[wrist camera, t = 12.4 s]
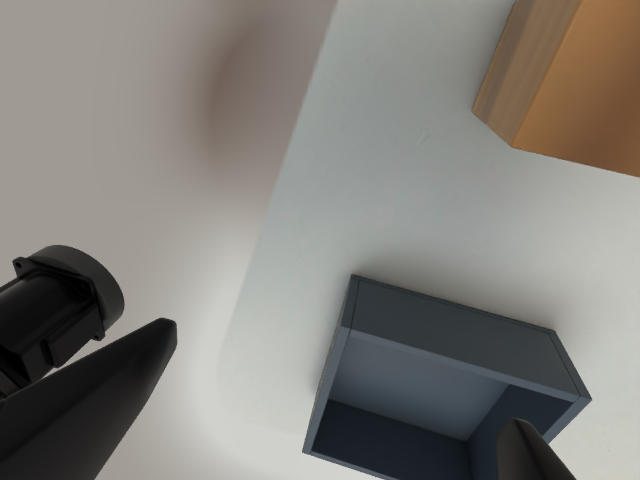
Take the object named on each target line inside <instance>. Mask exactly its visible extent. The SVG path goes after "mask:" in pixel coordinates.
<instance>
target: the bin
mask: <svg viewBox="0 0 640 480" xmlns="http://www.w3.org/2000/svg"><path fill="white" fill-rule="evenodd" d="M591 401H592V398H591V396H590V394H589V392H588V390H587V389H586V387H585V385H584V383H583V381H582V379H581V378H580V376H579V374H578V372H577V370H576V368H575V367H574V365H573V363H572V361H571V359H570V357H569V356H568V354H567V352H566V350H565V348H564V346H563V345H562V343H561V341H560V339H559V337H558V336H557V334H556V332H555V331H552V330H549V329H545V328H541V327H538V326H534V325H531V324H527V323H523V322H520V321H516V320H513V319H509V318H506V317H502V316H498V315H495V314H491V313H488V312H484V311H481V310H477V309H473V308H470V307H466V306H463V305H459V304H455V303H452V302H448V301H445V300H441V299H438V298H434V297H430V296H427V295H423V294H420V293H416V292H412V291H409V290H405V289H402V288H398V287H395V286H391V285H387V284H384V283H380V282H377V281H373V280H369V279H366V278H362V277H359V276H355V275H351V278H350V281H349V285H348V288H347V292H346V295H345V298H344V302H343V305H342V309H341V312H340V315H339V319H338V322H337V326H336V329H335V332H334V336H333V339H332V343H331V346H330V349H329V353H328V356H327V360H326V363H325V366H324V370H323V373H322V377H321V380H320V383H319V387H318V390H317V394H316V397H315V401H314V405H313V409H312V414H311V418H310V422H309V426H308V430H307V434H306V438H305V442H304V446H303V450H302V452H303V453H305V454H308V455H311V456H315V457H318V458H321V459H323V460H326V461H330V462H333V463H336V464H339V465H342V466H345V467H348V468H351V469H354V470H357V471H360V472H363V473H366V474H369V475H372V476H375V477H378V478H381V479H385V480H498V472H497V460H496V448H495V439H496V436H497V434H498V432H499V431H500V430H501V428H502V427H503V426H504V425H505V423H506V422H507V421H508V420H509V419H510V418H512V417H515V418H519V419H522V420H526V421H528V422H530V423H531V424H532V425H533V426H534V428H535V429H536V430H537V431H538V433H539V434H540V435H541V436H542V437H543V439H544V440H545V441H546V442H547V444H549V443H550V442H551V441H552V440H553V439H554V438H555V437H556V436H557V435H558V434H559V433H560V432H561V431H562V430H563V429H564V428H565V427H566V426H567V425H568V424H569V423H570V422H571V421H572V420H573V419H574V418H575V417H576V416H577V415H578V414H579V413H580V412H581V411H582V410H583V409H584V408H585V407H586V406H587V405H588V404H589V403H590V402H591Z"/></svg>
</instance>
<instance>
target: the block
mask: <svg viewBox="0 0 640 480" xmlns="http://www.w3.org/2000/svg"><path fill="white" fill-rule="evenodd" d="M472 113H473V114H475V115H476V116H477V117H478V118H479V119H480V120H481V121H482V122H484V123H485V124H486V125H487V126H488V127H489V128H490V129H491V130H493V131H494V132H495V133H496V134H497V135H498V136H499V137H501V138H502V139H503V140H504V141H505V142H506V143H507V144H508V145H510V146H511V147H512V148H516V149H520V150H524V151H528V152H533V153H537V154H541V155H545V156H550V157H554V158H558V159H562V160H567V161H571V162H575V163H579V164H584V165H588V166H592V167H597V168H601V169H605V170H609V171H614V172H618V173H622V174H626V175H631V176H635V177H639V178H640V0H518V1H516V2H515V3H514V5H513V8H512V10H511V13H510V15H509V18H508V20H507V23H506V25H505V28H504V30H503V33H502V35H501V38H500V40H499V43H498V45H497V48H496V50H495V53H494V55H493V58H492V60H491V63H490V65H489V68H488V71H487V73H486V76H485V78H484V81H483V83H482V86H481V88H480V91H479V93H478V96H477V98H476V101H475V103H474V106H473V108H472Z"/></svg>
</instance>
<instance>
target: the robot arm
mask: <svg viewBox="0 0 640 480" xmlns="http://www.w3.org/2000/svg"><path fill="white" fill-rule="evenodd" d="M13 265H14V268H15V271H16V274H17V278H15V279H14V280H12V281H10V282H8V283H7V284H5V285H3V286H2V287H0V480H94V479H95V478H96V476H97V475H98V474H99V472H100V471H101V469H102V468H103V466H104V465H105V463H106V462H107V460H108V459H109V457H110V456H111V454H112V453H113V451H114V450H115V449H116V447H117V446H118V444H119V443H120V441H121V440H122V438H123V437H124V435H125V434H126V432H127V431H128V429H129V428H130V426H131V425H132V423H133V422H134V420H135V419H136V417H137V416H138V415H139V413H140V412H141V410H142V409H143V407H144V406H145V404H146V402H147V401H148V399H149V397H150V395H151V394H152V392H153V390H154V388H155V386H156V384H157V382H158V381H159V379H160V377H161V375H162V373H163V371H164V370H165V368H166V366H167V364H168V362H169V360H170V359H171V357H172V355H173V353H174V351H175V349H176V346H177V325H176V322H175V321H173V320H170V319H166V318H159V319H156V320H155V321H153V322H151V323H149V324H147V325H145V326H143V327H141V328H139V329H137V330H135V331H133V332H131V333H129V334H128V335H126V336H124V337H122V338H120V339H118V340H116V341H114V342H112V343H110V344H108V345H106V346H105V347H103V348H101V349H99V350H97V351H95V352H93V353H91V354H89V355H87V356H85V357H83V358H81V359H79V360H77V361H76V362H74V363H72V364H70V365H68V366H66V367H64V368H62V369H60V370H58V371H56V372H54V373H53V374H51V375H49V376H47V377H45V378H43V377H44V376H45V375H46V374H47V373H48V372H50V371H51V370H52V369H53V368H59V367H61V366H63V365H64V364H65V363H66V362H67V361H68V360H69V359H70V358H71V357H72V356H73V355H74V354H75V353H77V352H78V351H79V350H80V349H81V348H82V347H83V346H84V345H85V344H86V343H87V342H88V341H89V340H90V339H93V340H96V341H101V340H102V339H103V338H104V337H105V331H104V326H103V321H102V316H101V311H100V306H99V301H98V296H97V291H96V286H95V283H94V281H93V280H92V279H91V278H90V277H87V276H84V275H80V274H77V273H74V272H70V271H67V270H64V269H60V268H57V267H54V266H50V265H47V264H44V263H40V262H37V261H34V260H30V259H27V258H24V257H18V258H16V259H14V260H13ZM42 378H43V379H42ZM495 448H496V460H497V472H498V480H576V478H575V477H574V476H573V475H572V473H571V472H570V471H569V470H568V468H567V467H566V466H565V465H564V463H563V462H562V461H561V460H560V459H559V457H558V456H557V455H556V454H555V452H554V451H553V450H552V449H551V447H550V446H549V445H548V444H547V442H546V441H545V440H544V439H543V437H542V436H541V435H540V434H539V433H538V431H537V430H536V429H535V428H534V426H533V425H532V424H531V423H530V422H528V421H526V420H522V419H519V418H515V417H512V418H510V419H509V420H508V421H507V422H506V423H505V425H504V426H503V427H502V428H501V430H500V431H499V432H498V434H497V436H496V439H495Z"/></svg>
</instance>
